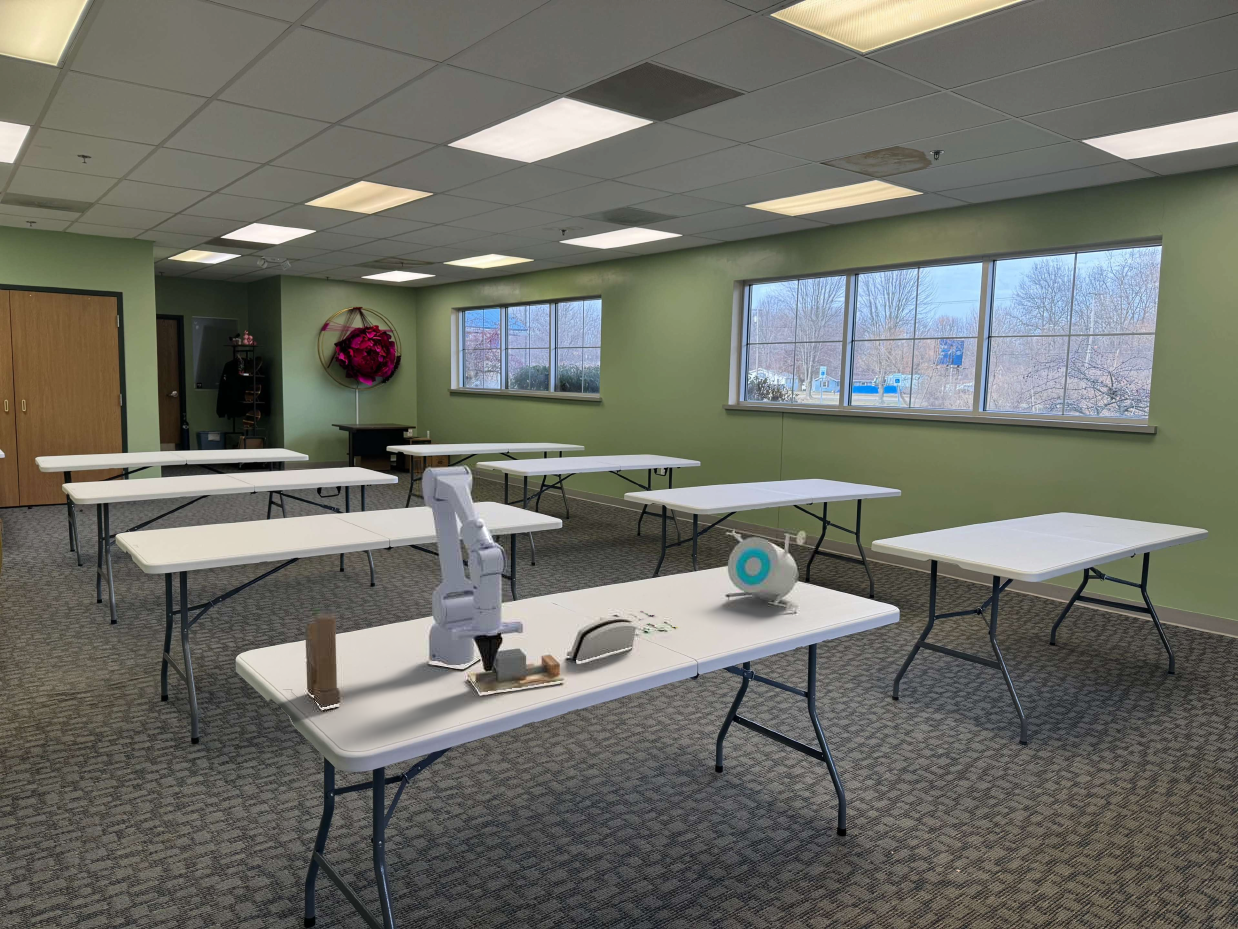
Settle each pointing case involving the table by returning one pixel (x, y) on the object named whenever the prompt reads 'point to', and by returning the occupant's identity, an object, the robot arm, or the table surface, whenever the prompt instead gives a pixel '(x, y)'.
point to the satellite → (763, 569)
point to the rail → (534, 676)
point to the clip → (510, 665)
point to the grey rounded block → (603, 638)
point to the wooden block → (322, 660)
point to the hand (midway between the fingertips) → (487, 669)
